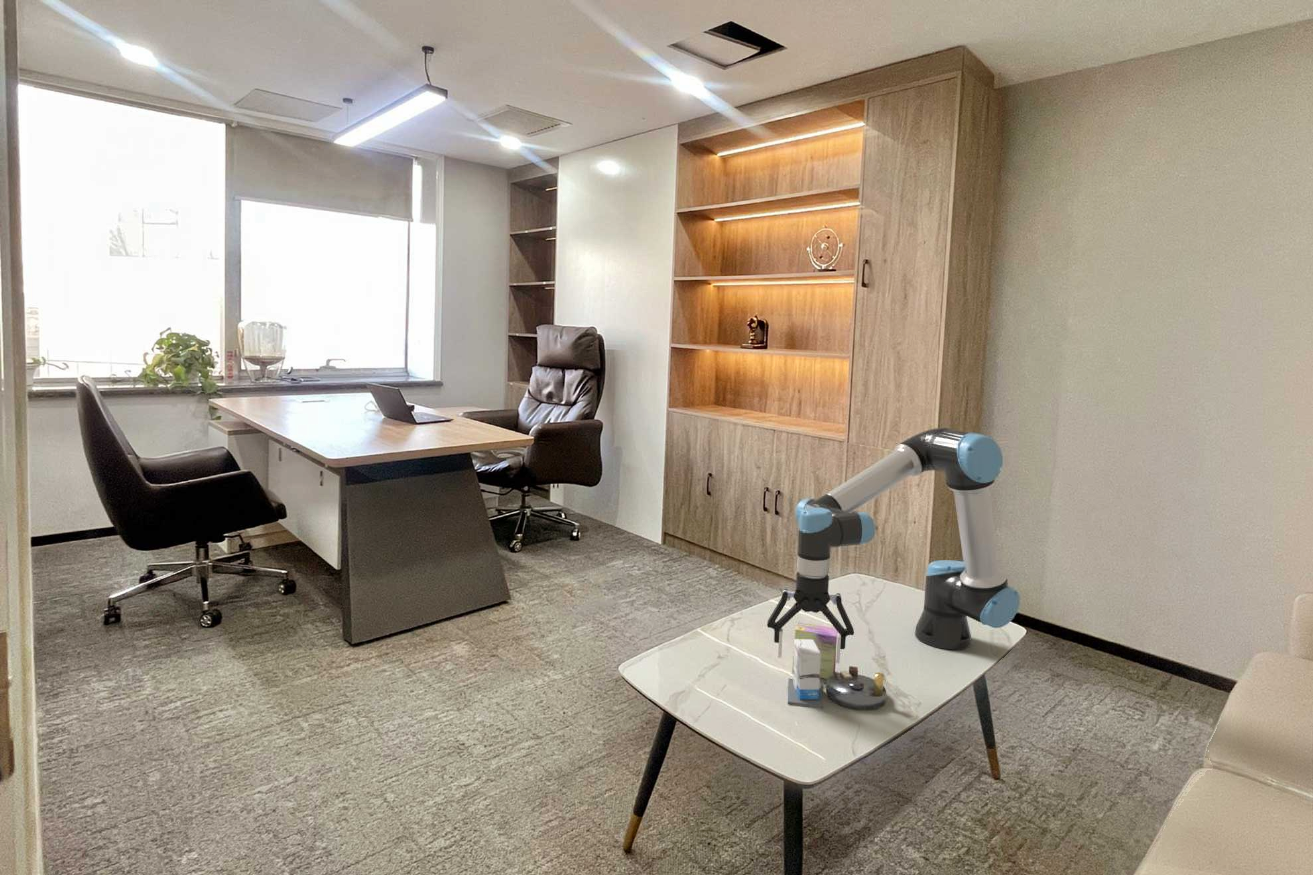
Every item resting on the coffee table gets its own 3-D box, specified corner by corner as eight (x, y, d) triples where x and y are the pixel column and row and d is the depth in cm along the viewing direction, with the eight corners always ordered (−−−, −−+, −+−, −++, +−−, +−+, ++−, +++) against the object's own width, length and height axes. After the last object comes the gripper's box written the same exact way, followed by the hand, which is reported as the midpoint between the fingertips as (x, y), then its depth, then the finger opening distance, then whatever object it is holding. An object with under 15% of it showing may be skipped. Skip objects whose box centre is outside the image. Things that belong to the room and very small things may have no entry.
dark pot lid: (894, 693, 179) (896, 666, 178) (871, 715, 168) (873, 687, 167) (841, 675, 188) (842, 649, 187) (815, 695, 177) (817, 667, 176)
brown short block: (856, 678, 188) (857, 666, 187) (857, 682, 185) (858, 671, 185) (848, 677, 188) (849, 666, 187) (849, 681, 186) (849, 670, 185)
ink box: (819, 700, 174) (822, 653, 172) (797, 700, 174) (801, 653, 172) (811, 683, 183) (814, 638, 181) (791, 682, 182) (793, 637, 181)
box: (835, 670, 191) (838, 627, 190) (833, 680, 186) (836, 636, 184) (795, 663, 195) (798, 621, 193) (791, 673, 189) (794, 629, 188)
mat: (821, 684, 183) (821, 682, 183) (822, 708, 172) (822, 705, 172) (788, 680, 185) (788, 678, 185) (787, 703, 173) (787, 701, 173)
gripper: (866, 572, 175) (860, 656, 179) (760, 564, 180) (757, 646, 183) (868, 582, 168) (863, 670, 171) (758, 574, 173) (755, 659, 176)
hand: (808, 658), depth 177 cm, fingers open, 13 cm apart
